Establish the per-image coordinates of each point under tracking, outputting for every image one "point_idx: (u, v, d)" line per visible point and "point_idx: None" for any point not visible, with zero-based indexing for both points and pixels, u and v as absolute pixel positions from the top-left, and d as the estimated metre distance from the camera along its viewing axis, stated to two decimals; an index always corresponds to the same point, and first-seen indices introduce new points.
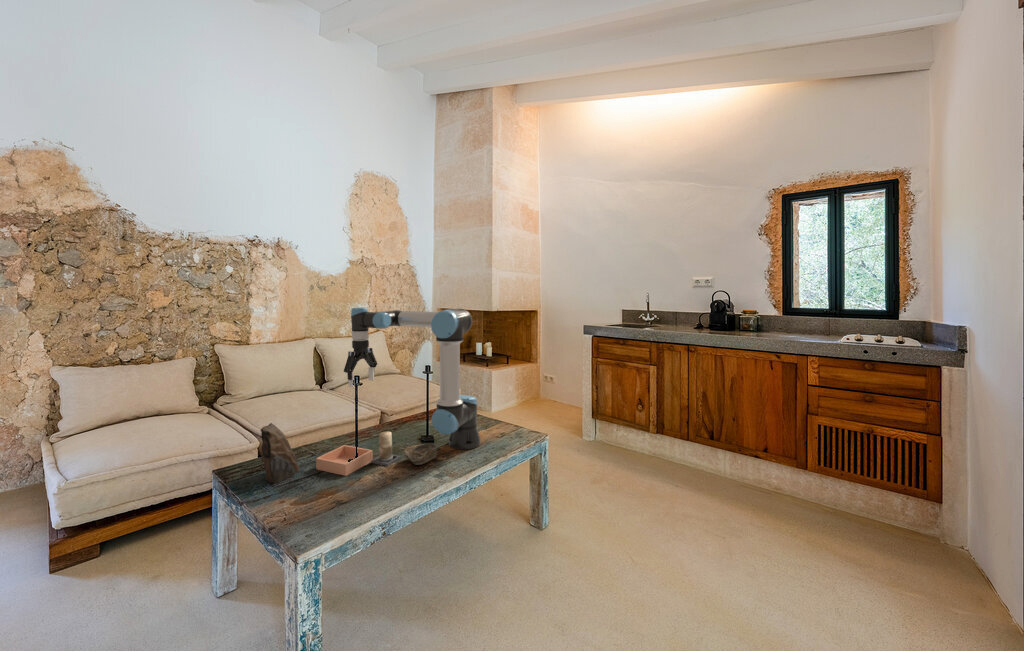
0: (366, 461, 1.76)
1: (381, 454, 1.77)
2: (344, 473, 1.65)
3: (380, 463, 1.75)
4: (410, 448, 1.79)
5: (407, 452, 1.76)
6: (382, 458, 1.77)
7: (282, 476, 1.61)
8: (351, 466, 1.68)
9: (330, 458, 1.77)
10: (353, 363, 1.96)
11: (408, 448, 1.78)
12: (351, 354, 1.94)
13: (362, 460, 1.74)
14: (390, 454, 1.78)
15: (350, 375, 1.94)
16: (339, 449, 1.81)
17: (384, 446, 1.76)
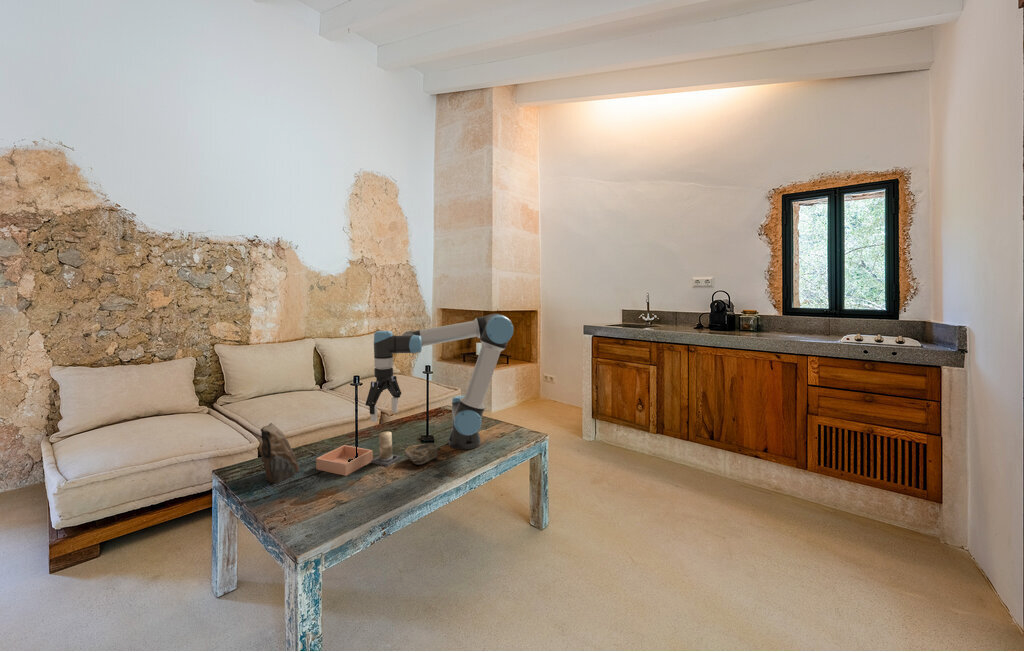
0: (366, 461, 1.76)
1: (381, 454, 1.77)
2: (344, 473, 1.65)
3: (380, 463, 1.75)
4: (411, 448, 1.79)
5: (408, 452, 1.76)
6: (382, 458, 1.77)
7: (282, 476, 1.61)
8: (351, 466, 1.68)
9: (330, 458, 1.77)
10: (376, 395, 1.71)
11: (409, 448, 1.79)
12: (374, 385, 1.70)
13: (362, 460, 1.74)
14: (390, 454, 1.78)
15: (373, 409, 1.70)
16: (339, 449, 1.81)
17: (384, 446, 1.76)
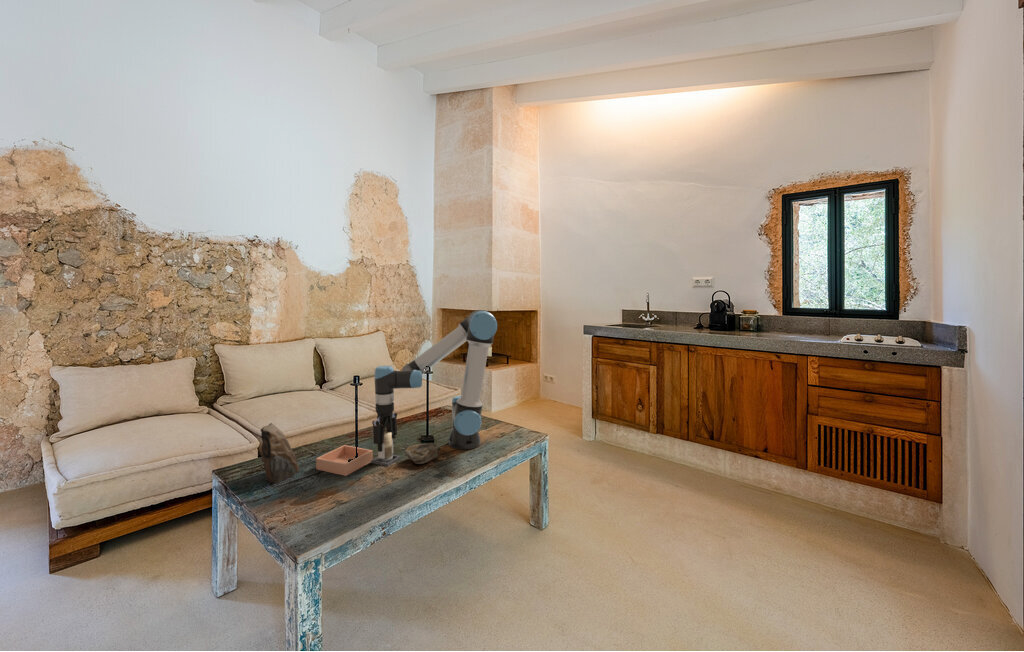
0: (366, 461, 1.76)
1: None
2: (344, 473, 1.65)
3: (380, 463, 1.75)
4: (412, 447, 1.79)
5: (409, 451, 1.77)
6: None
7: (282, 476, 1.61)
8: (351, 466, 1.68)
9: (330, 458, 1.77)
10: (381, 432, 1.75)
11: (410, 447, 1.79)
12: (376, 425, 1.72)
13: (362, 460, 1.74)
14: (390, 454, 1.78)
15: (380, 446, 1.75)
16: (339, 449, 1.81)
17: None
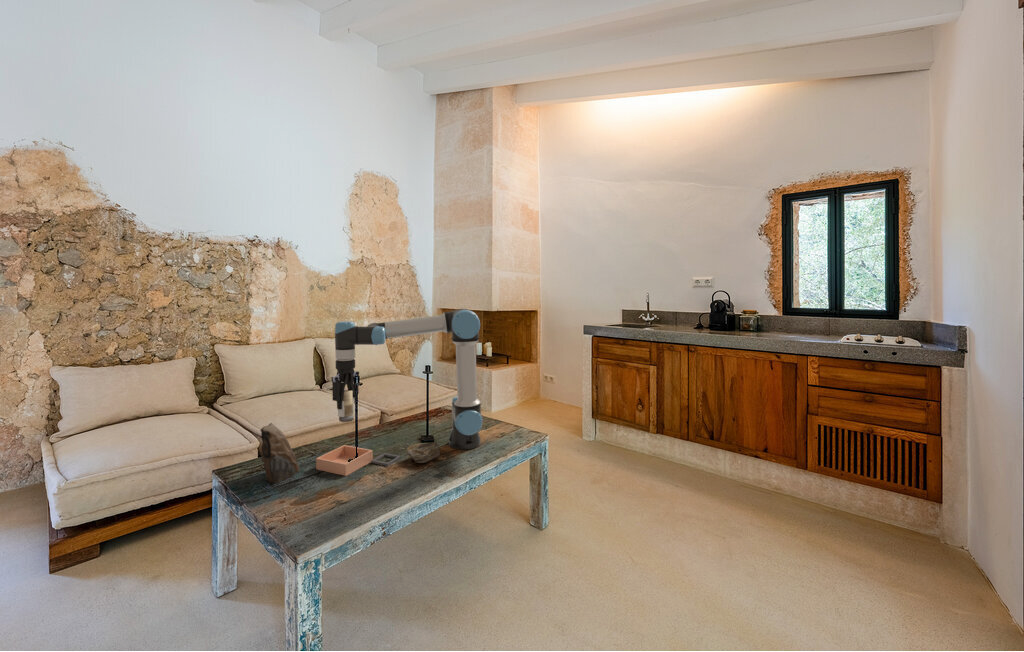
0: (366, 461, 1.76)
1: None
2: (344, 473, 1.65)
3: (380, 463, 1.75)
4: (413, 446, 1.80)
5: (410, 450, 1.78)
6: None
7: (282, 476, 1.61)
8: (351, 466, 1.68)
9: (330, 458, 1.77)
10: (340, 389, 1.69)
11: (411, 447, 1.80)
12: (335, 380, 1.66)
13: (362, 460, 1.74)
14: (350, 413, 1.72)
15: (340, 404, 1.69)
16: (339, 449, 1.81)
17: (344, 403, 1.70)
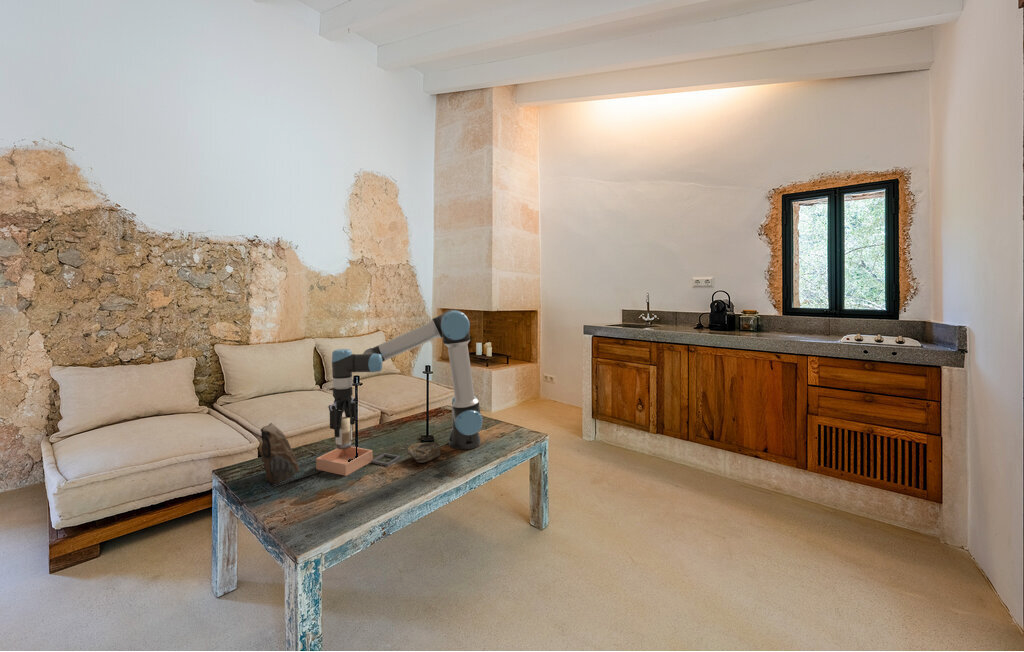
0: (366, 461, 1.76)
1: None
2: (344, 473, 1.65)
3: (380, 463, 1.75)
4: (414, 446, 1.81)
5: (411, 450, 1.78)
6: None
7: (282, 476, 1.61)
8: (351, 466, 1.68)
9: (330, 458, 1.77)
10: (338, 417, 1.70)
11: (412, 446, 1.81)
12: (332, 409, 1.67)
13: (362, 460, 1.74)
14: (348, 440, 1.73)
15: (337, 432, 1.70)
16: (339, 449, 1.81)
17: None
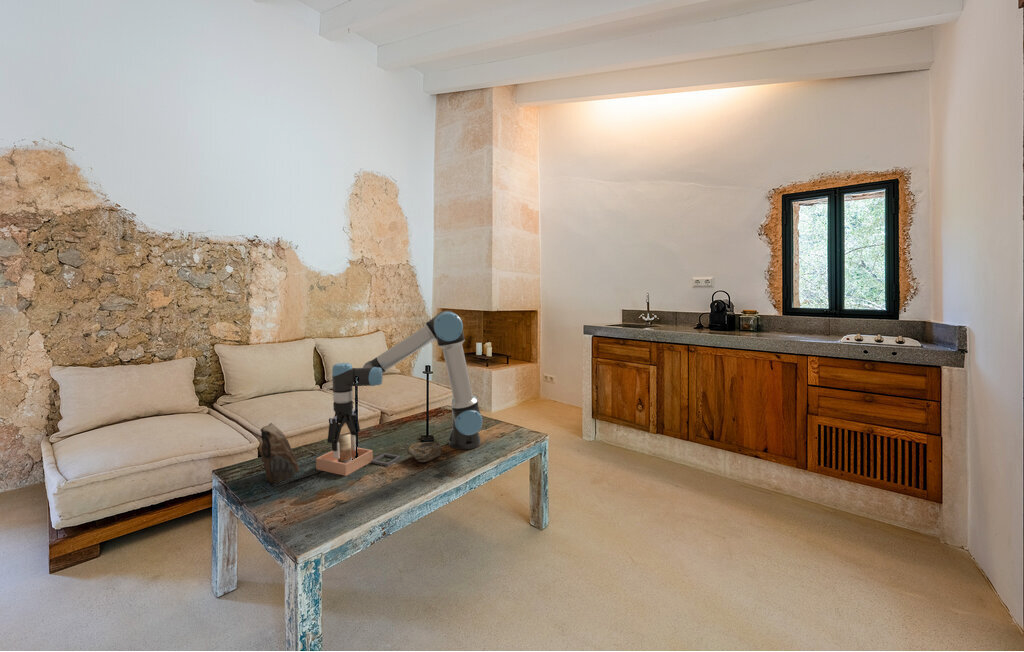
0: (366, 461, 1.76)
1: None
2: (344, 473, 1.65)
3: (380, 463, 1.75)
4: (415, 445, 1.82)
5: (411, 449, 1.79)
6: (340, 461, 1.72)
7: (282, 476, 1.61)
8: (351, 466, 1.68)
9: (330, 458, 1.77)
10: (337, 431, 1.70)
11: (413, 446, 1.81)
12: (332, 422, 1.67)
13: (362, 460, 1.74)
14: (349, 457, 1.74)
15: (335, 446, 1.69)
16: None
17: (342, 448, 1.72)
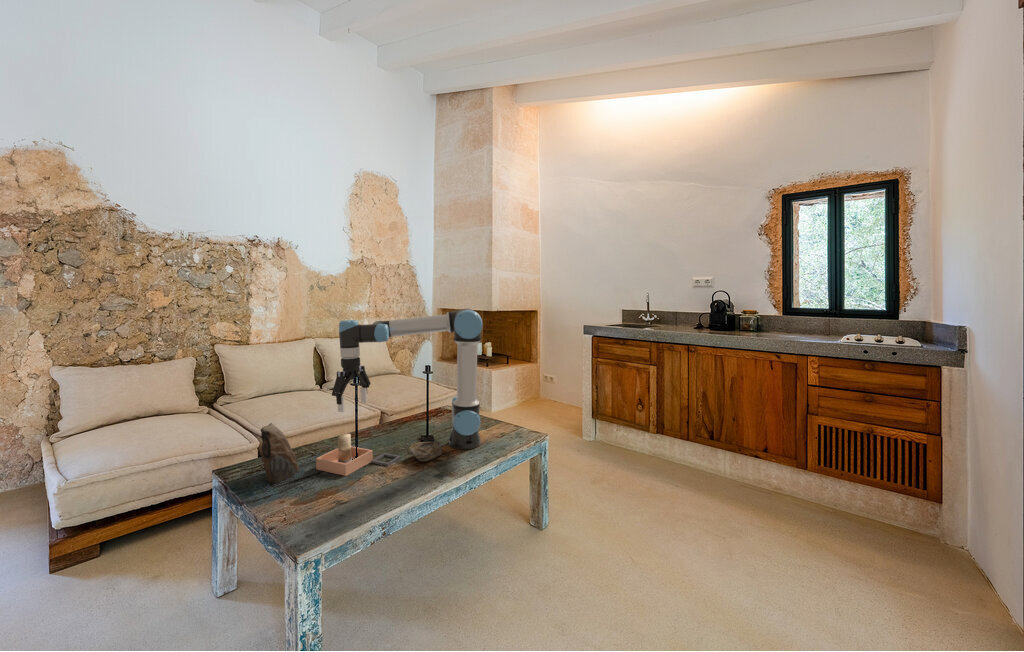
0: (366, 461, 1.76)
1: (339, 457, 1.73)
2: (344, 473, 1.65)
3: (380, 463, 1.75)
4: (416, 445, 1.82)
5: (412, 449, 1.80)
6: (340, 461, 1.72)
7: (282, 476, 1.61)
8: (351, 466, 1.68)
9: (330, 458, 1.77)
10: (343, 385, 1.70)
11: (414, 445, 1.82)
12: (340, 375, 1.68)
13: (362, 460, 1.74)
14: (349, 457, 1.74)
15: (339, 399, 1.68)
16: None
17: (342, 448, 1.72)
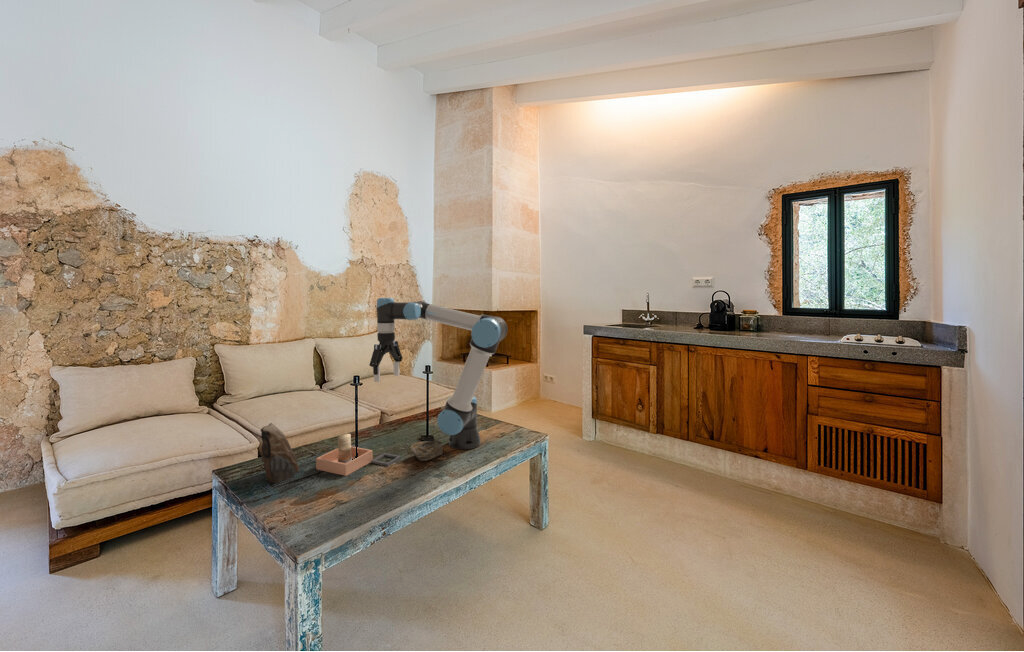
0: (366, 461, 1.76)
1: (339, 457, 1.73)
2: (344, 473, 1.65)
3: (380, 463, 1.75)
4: (417, 444, 1.83)
5: (413, 448, 1.80)
6: (340, 461, 1.72)
7: (282, 476, 1.61)
8: (351, 466, 1.68)
9: (330, 458, 1.77)
10: (379, 357, 1.84)
11: (415, 444, 1.83)
12: (377, 347, 1.82)
13: (362, 460, 1.74)
14: (349, 457, 1.74)
15: (376, 369, 1.82)
16: None
17: (342, 448, 1.72)
